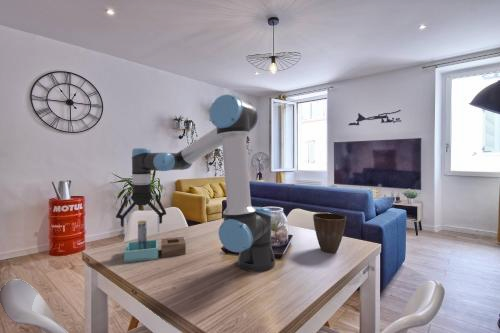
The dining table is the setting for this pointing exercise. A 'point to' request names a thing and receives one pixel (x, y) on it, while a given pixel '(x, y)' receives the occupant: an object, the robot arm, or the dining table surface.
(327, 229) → the plant pot
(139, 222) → the steel pin
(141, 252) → the pin tray
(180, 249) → the block
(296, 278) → the dining table surface
